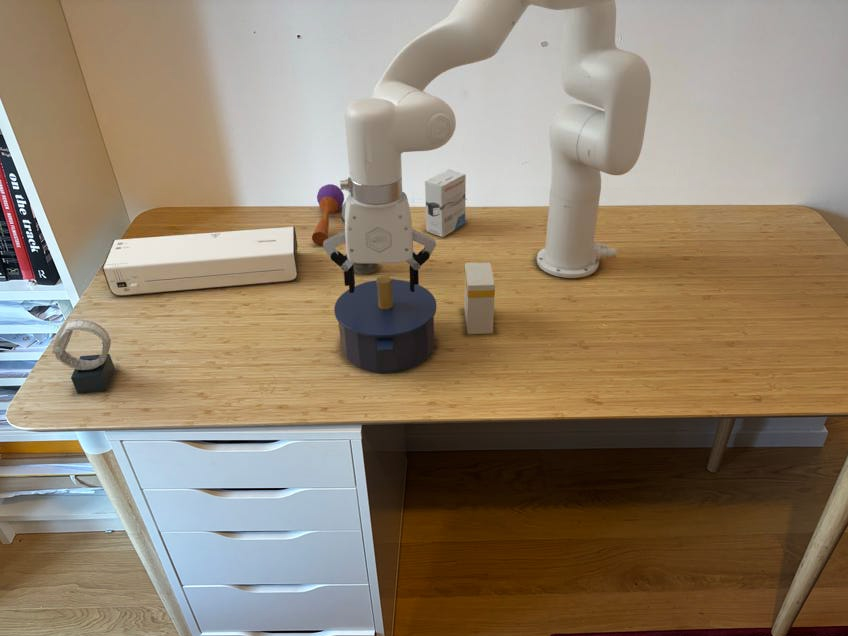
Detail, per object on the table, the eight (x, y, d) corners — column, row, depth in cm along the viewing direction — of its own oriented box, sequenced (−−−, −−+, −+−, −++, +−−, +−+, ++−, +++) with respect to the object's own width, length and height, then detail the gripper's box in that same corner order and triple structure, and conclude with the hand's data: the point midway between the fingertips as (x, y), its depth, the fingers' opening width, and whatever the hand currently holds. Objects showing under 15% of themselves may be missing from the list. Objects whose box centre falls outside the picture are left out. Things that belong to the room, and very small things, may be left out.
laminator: (298, 253, 147) (294, 225, 143) (299, 283, 137) (294, 255, 133) (122, 267, 141) (113, 239, 137) (110, 300, 131) (100, 271, 128)
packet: (488, 309, 131) (490, 262, 125) (493, 333, 125) (495, 284, 119) (464, 310, 131) (464, 263, 125) (467, 334, 125) (467, 285, 119)
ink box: (448, 217, 161) (448, 167, 154) (466, 223, 159) (466, 173, 152) (424, 231, 155) (423, 180, 148) (442, 238, 153) (442, 186, 146)
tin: (431, 309, 131) (431, 274, 127) (436, 381, 115) (435, 343, 110) (346, 312, 130) (342, 276, 125) (338, 385, 113) (333, 347, 109)
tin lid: (434, 283, 125) (434, 252, 122) (438, 338, 112) (438, 306, 108) (338, 286, 124) (334, 255, 120) (331, 342, 111) (326, 309, 107)
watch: (73, 372, 115) (49, 315, 108) (126, 368, 116) (106, 311, 109) (63, 394, 110) (38, 337, 103) (118, 390, 111) (97, 332, 105)
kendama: (301, 228, 147) (315, 181, 162) (310, 252, 151) (323, 204, 166) (329, 224, 146) (341, 177, 161) (338, 248, 150) (348, 200, 165)
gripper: (314, 199, 101) (326, 301, 111) (436, 198, 103) (437, 299, 113) (319, 178, 107) (330, 277, 117) (434, 177, 109) (435, 275, 119)
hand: (382, 288), depth 115 cm, fingers open, 9 cm apart
